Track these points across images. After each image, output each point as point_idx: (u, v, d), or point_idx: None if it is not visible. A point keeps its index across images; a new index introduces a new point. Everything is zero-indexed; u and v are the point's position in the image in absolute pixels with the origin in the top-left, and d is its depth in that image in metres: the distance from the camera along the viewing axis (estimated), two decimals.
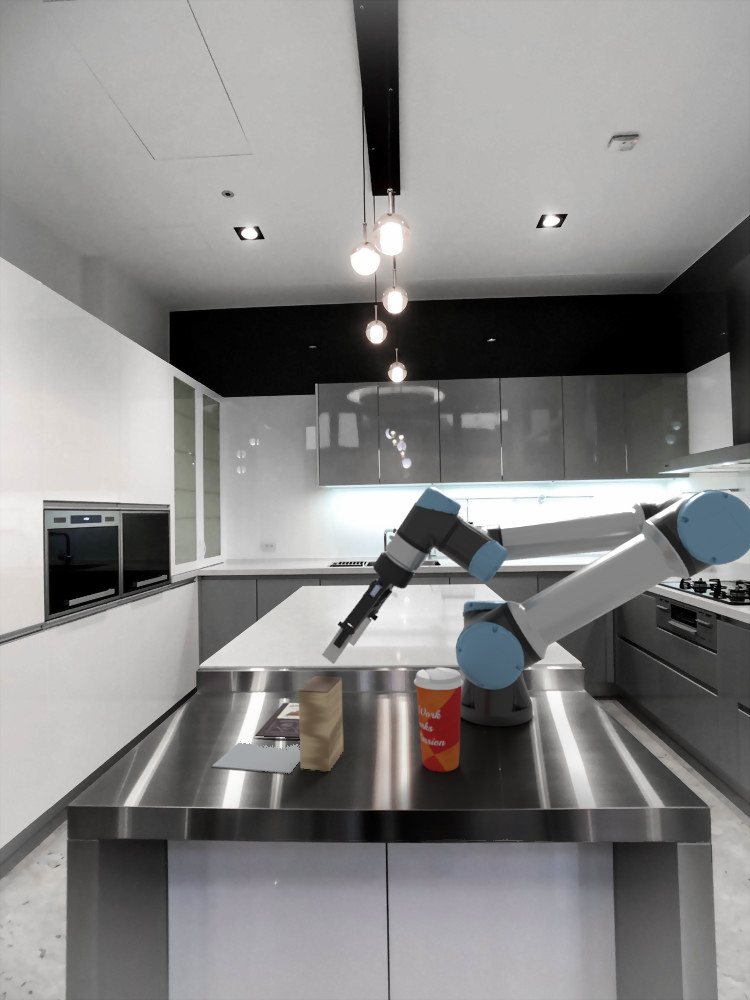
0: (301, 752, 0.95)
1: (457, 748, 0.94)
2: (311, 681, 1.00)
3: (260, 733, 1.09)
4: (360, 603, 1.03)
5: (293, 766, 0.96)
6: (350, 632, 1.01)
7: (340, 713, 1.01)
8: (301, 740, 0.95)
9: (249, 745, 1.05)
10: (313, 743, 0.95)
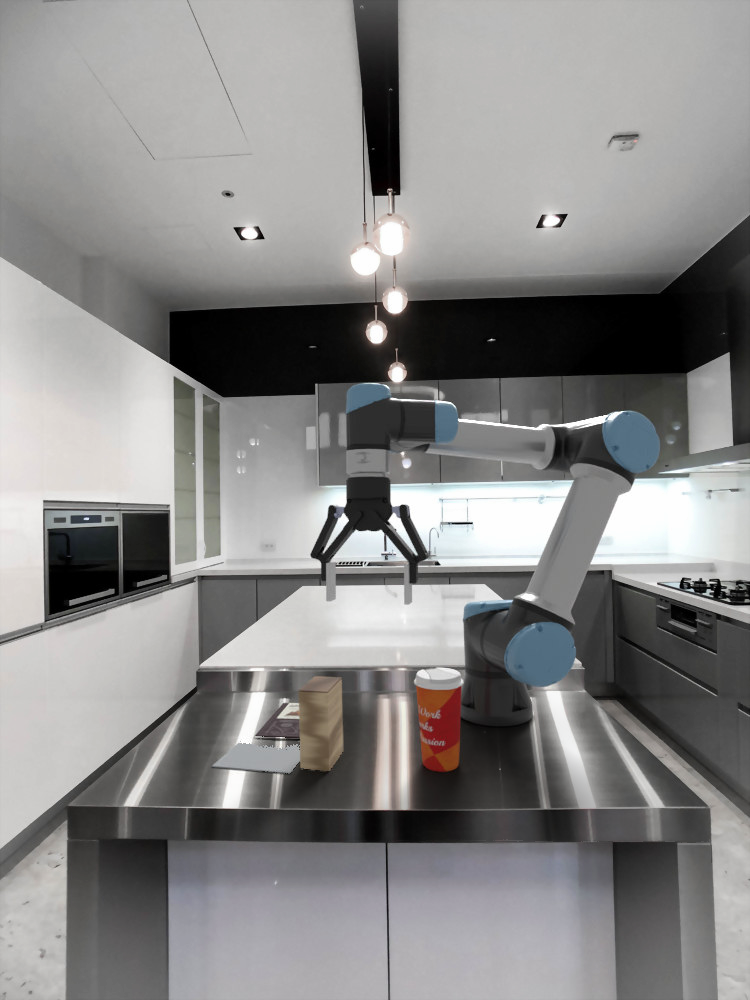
0: (301, 752, 0.95)
1: (457, 748, 0.94)
2: (311, 681, 1.00)
3: (260, 733, 1.09)
4: (413, 529, 0.95)
5: (293, 766, 0.96)
6: (428, 556, 0.96)
7: (340, 713, 1.01)
8: (301, 740, 0.95)
9: (249, 745, 1.05)
10: (313, 743, 0.95)
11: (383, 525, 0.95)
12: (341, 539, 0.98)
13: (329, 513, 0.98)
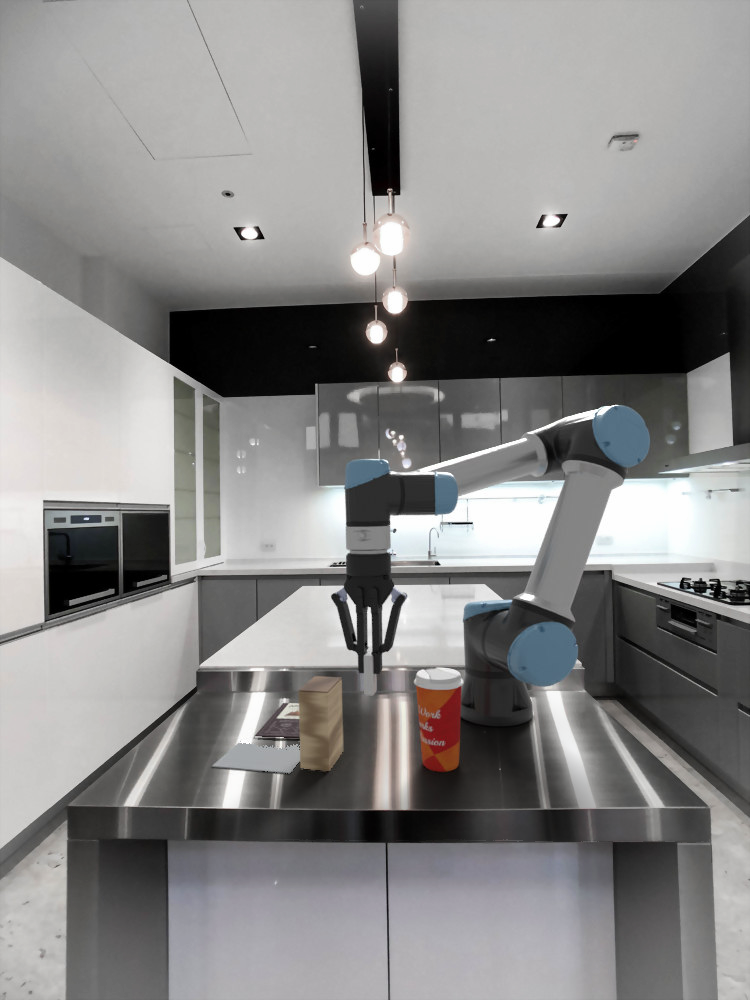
0: (301, 752, 0.95)
1: (457, 748, 0.94)
2: (311, 681, 1.00)
3: (260, 733, 1.09)
4: (396, 620, 0.95)
5: (293, 766, 0.96)
6: (392, 645, 0.96)
7: (340, 713, 1.01)
8: (301, 740, 0.95)
9: (249, 745, 1.05)
10: (313, 743, 0.95)
11: (375, 607, 0.95)
12: (362, 622, 0.96)
13: (335, 602, 0.97)
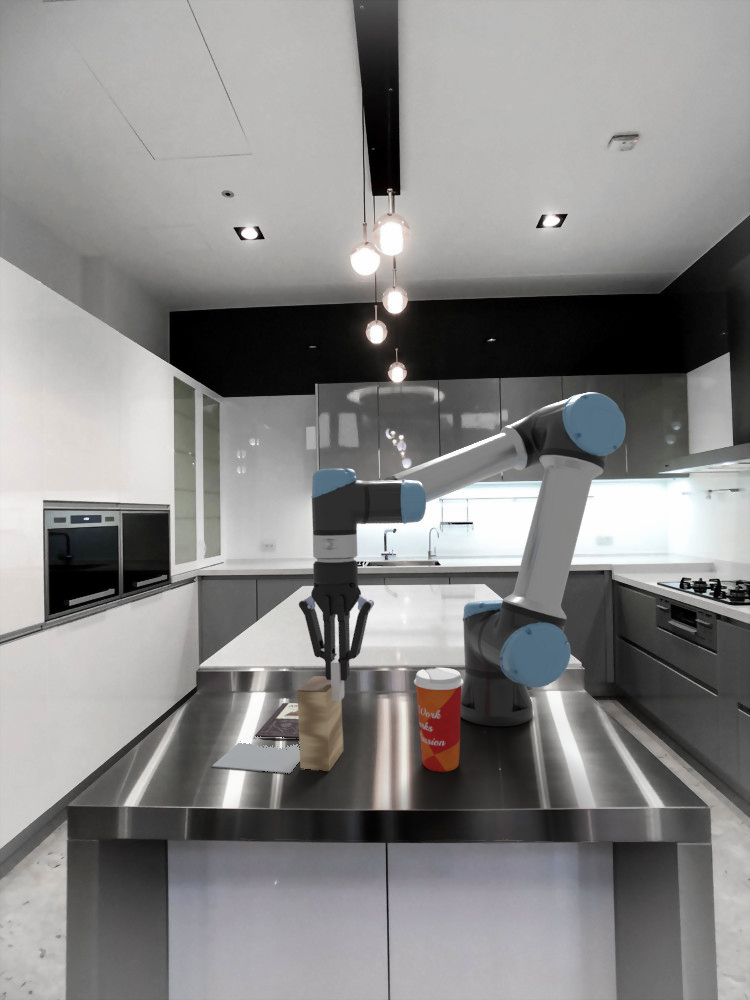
0: (300, 752, 0.95)
1: (457, 748, 0.94)
2: (310, 681, 1.00)
3: (260, 733, 1.09)
4: (362, 627, 0.96)
5: (293, 766, 0.96)
6: (359, 652, 0.98)
7: (339, 712, 1.01)
8: (301, 740, 0.95)
9: (249, 745, 1.05)
10: (313, 743, 0.95)
11: (341, 614, 0.96)
12: (329, 630, 0.97)
13: (303, 609, 0.98)
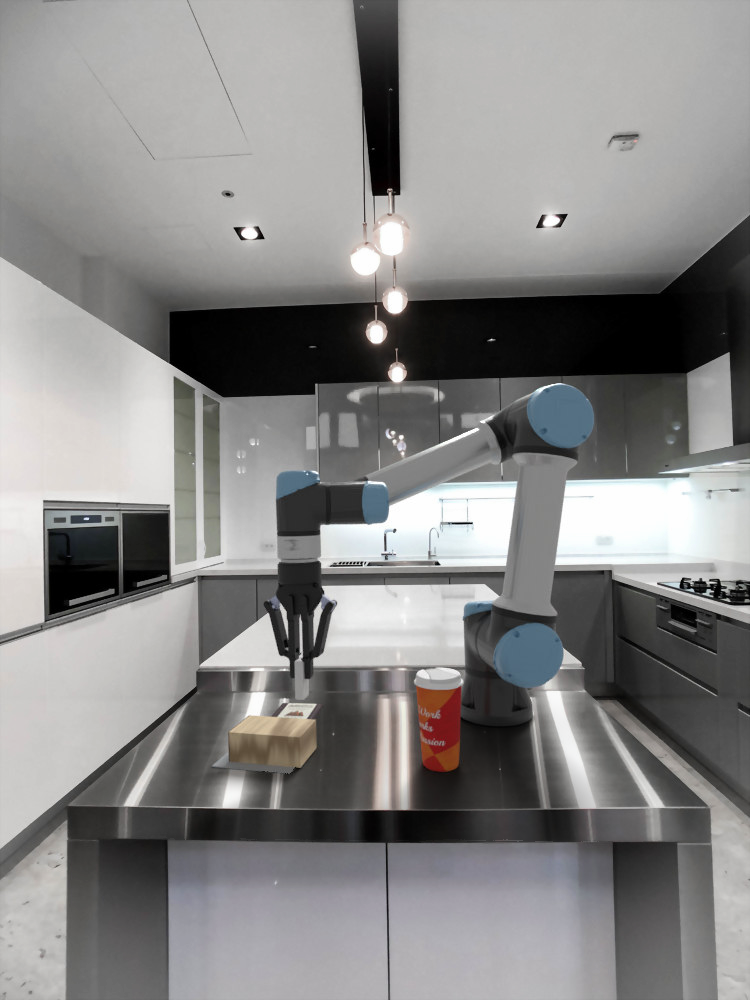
0: (285, 765, 0.96)
1: (457, 748, 0.94)
2: None
3: None
4: (325, 627, 0.98)
5: None
6: (323, 651, 0.99)
7: (276, 719, 1.03)
8: (273, 763, 0.96)
9: None
10: (275, 750, 0.96)
11: (304, 614, 0.97)
12: (293, 629, 0.98)
13: (268, 609, 0.99)
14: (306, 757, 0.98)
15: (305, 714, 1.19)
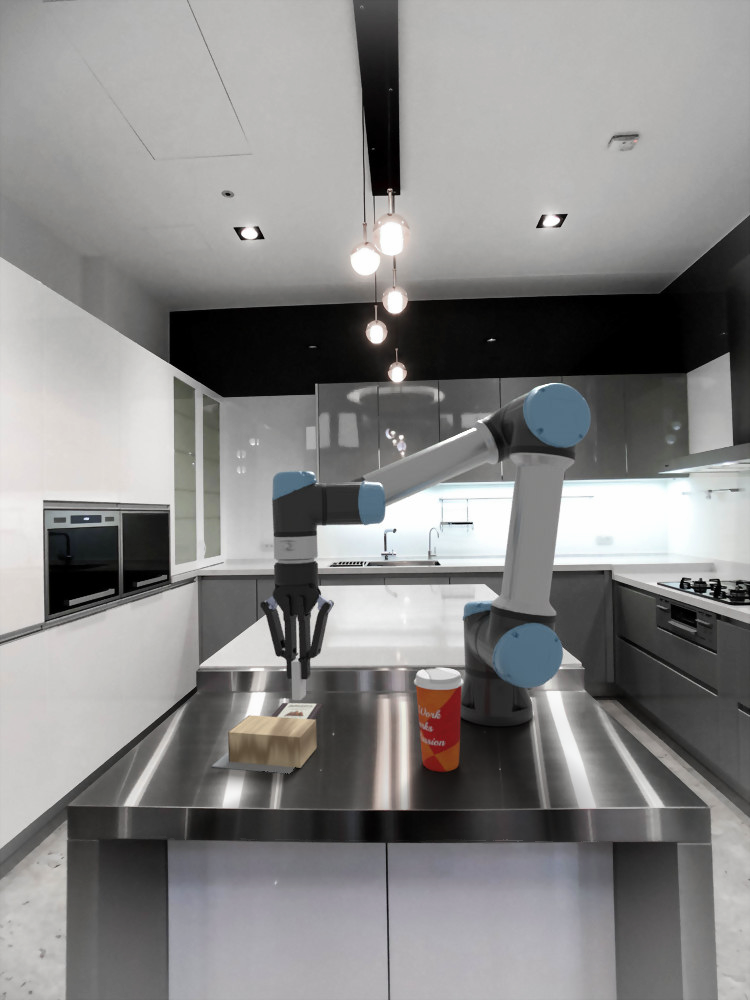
0: (285, 765, 0.96)
1: (457, 748, 0.94)
2: None
3: None
4: (322, 627, 0.98)
5: None
6: (319, 652, 1.00)
7: (276, 719, 1.03)
8: (273, 763, 0.96)
9: None
10: (275, 750, 0.96)
11: (301, 614, 0.98)
12: (289, 629, 0.99)
13: (265, 610, 1.00)
14: (306, 757, 0.98)
15: (305, 714, 1.19)
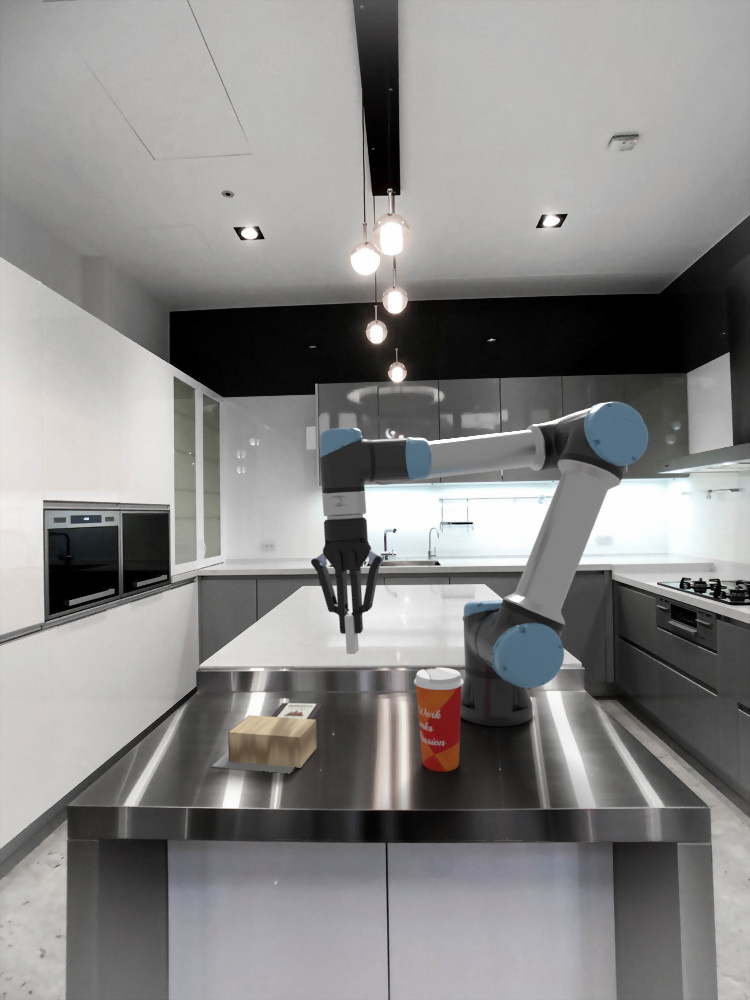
0: (285, 765, 0.96)
1: (457, 748, 0.94)
2: None
3: None
4: (374, 581, 0.99)
5: None
6: (371, 606, 1.01)
7: (276, 719, 1.03)
8: (273, 763, 0.96)
9: None
10: (275, 750, 0.96)
11: (353, 569, 0.99)
12: (341, 585, 1.00)
13: (316, 567, 1.01)
14: (306, 757, 0.98)
15: (305, 714, 1.18)
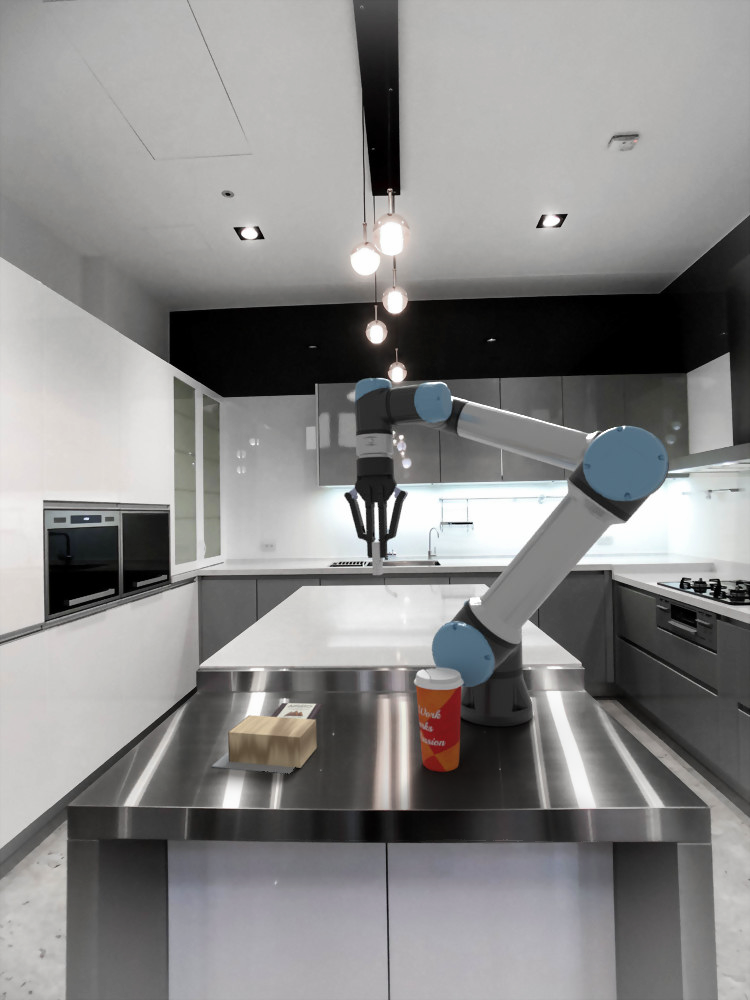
0: (285, 765, 0.96)
1: (457, 748, 0.94)
2: None
3: None
4: (398, 512, 1.14)
5: None
6: (395, 535, 1.16)
7: (276, 719, 1.03)
8: (273, 763, 0.96)
9: None
10: (275, 750, 0.96)
11: (381, 501, 1.14)
12: (370, 515, 1.15)
13: (348, 499, 1.16)
14: (306, 757, 0.98)
15: (305, 714, 1.18)
